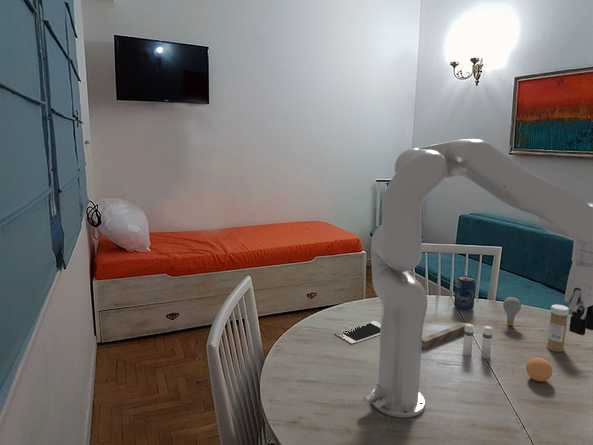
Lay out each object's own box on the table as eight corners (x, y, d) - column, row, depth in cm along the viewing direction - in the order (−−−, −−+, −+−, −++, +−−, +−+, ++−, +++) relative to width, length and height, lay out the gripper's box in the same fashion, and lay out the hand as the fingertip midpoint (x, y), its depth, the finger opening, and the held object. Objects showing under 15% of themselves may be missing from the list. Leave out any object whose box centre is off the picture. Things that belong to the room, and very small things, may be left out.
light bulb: (519, 324, 149) (522, 296, 147) (517, 330, 144) (520, 301, 142) (502, 320, 152) (505, 293, 150) (500, 326, 147) (502, 298, 145)
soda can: (455, 311, 160) (457, 280, 157) (452, 304, 166) (454, 274, 164) (475, 312, 159) (478, 281, 156) (471, 305, 165) (473, 275, 163)
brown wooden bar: (424, 349, 131) (425, 341, 130) (419, 346, 132) (419, 339, 132) (468, 331, 143) (469, 324, 143) (463, 329, 145) (463, 322, 144)
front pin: (486, 359, 125) (489, 330, 123) (479, 356, 127) (481, 327, 125) (491, 357, 126) (494, 328, 124) (484, 353, 128) (486, 325, 126)
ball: (543, 388, 110) (546, 367, 109) (520, 378, 115) (522, 357, 114) (555, 381, 114) (558, 360, 112) (532, 371, 118) (534, 351, 117)
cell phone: (393, 332, 144) (393, 329, 144) (351, 346, 134) (352, 343, 134) (374, 322, 151) (374, 320, 151) (333, 335, 141) (333, 332, 141)
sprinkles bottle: (566, 349, 131) (572, 307, 128) (559, 353, 128) (564, 310, 126) (551, 344, 135) (556, 302, 132) (543, 347, 132) (548, 305, 130)
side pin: (468, 357, 126) (470, 328, 125) (460, 353, 128) (463, 324, 127) (473, 354, 128) (475, 325, 126) (465, 351, 130) (468, 322, 128)
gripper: (589, 248, 108) (580, 317, 112) (556, 258, 99) (547, 333, 103) (625, 255, 102) (614, 327, 106) (593, 266, 93) (582, 345, 96)
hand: (581, 329), depth 104 cm, fingers open, 4 cm apart
